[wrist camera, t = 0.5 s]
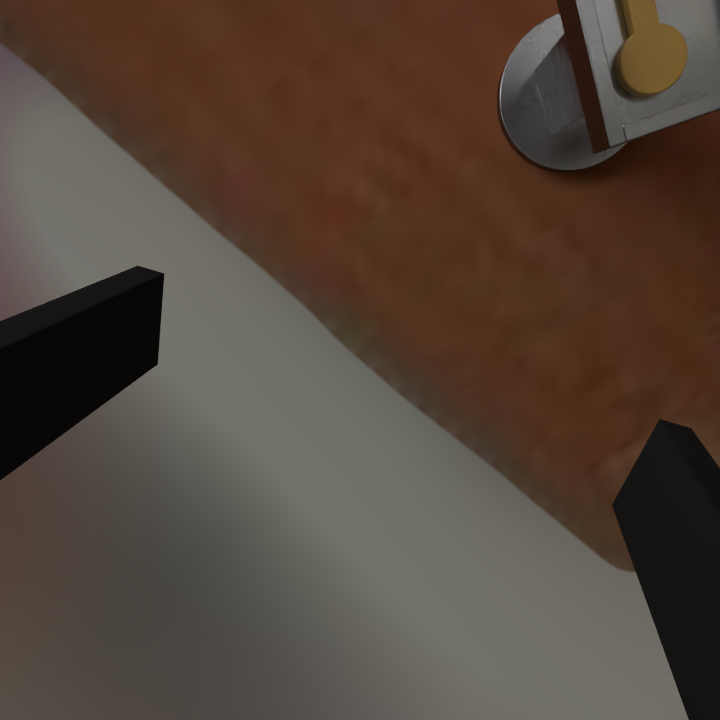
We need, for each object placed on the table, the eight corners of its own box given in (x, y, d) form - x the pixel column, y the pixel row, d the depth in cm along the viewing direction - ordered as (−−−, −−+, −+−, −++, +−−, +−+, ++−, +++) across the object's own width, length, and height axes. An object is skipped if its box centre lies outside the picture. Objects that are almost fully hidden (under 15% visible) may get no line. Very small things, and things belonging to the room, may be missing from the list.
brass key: (686, 84, 20) (694, 79, 20) (622, 107, 21) (628, 103, 20) (653, -81, 19) (660, -91, 19) (586, -54, 20) (591, -63, 19)
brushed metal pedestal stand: (518, 192, 35) (602, 161, 20) (479, 49, 33) (540, -101, 18) (725, 119, 33) (989, 26, 18) (695, -36, 32) (959, -281, 16)
